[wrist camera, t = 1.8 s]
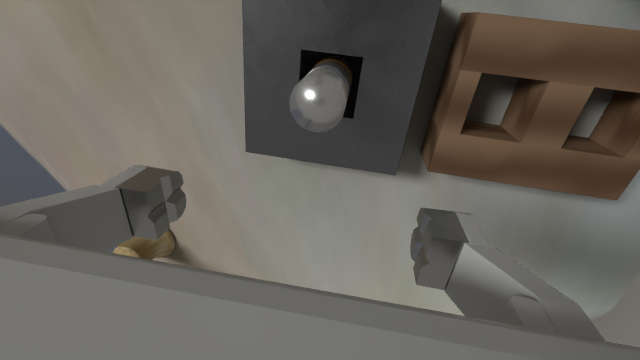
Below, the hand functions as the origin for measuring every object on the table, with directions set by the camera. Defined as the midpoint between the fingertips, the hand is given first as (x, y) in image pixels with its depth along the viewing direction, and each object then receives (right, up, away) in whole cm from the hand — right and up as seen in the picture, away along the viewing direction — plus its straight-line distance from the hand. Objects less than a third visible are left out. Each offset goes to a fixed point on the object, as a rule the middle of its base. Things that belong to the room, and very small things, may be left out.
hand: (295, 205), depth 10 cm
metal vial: (+2, +12, +21) cm, 25 cm away
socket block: (+2, +12, +21) cm, 25 cm away
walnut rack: (+22, +9, +20) cm, 31 cm away
